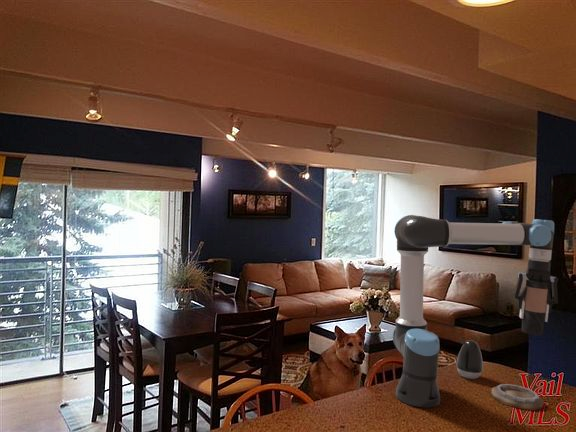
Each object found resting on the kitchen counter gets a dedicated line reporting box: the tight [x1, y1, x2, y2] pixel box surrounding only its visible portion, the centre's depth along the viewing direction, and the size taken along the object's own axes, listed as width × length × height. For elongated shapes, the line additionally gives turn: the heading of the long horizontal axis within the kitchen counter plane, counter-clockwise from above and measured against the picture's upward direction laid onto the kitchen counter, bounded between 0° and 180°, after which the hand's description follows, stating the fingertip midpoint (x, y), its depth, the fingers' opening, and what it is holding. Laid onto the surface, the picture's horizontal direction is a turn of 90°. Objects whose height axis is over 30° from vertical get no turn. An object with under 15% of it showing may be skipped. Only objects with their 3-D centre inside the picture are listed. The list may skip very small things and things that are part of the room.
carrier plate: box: [490, 383, 544, 411], centre depth 169 cm, size 17×17×3 cm
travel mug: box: [521, 278, 549, 336], centre depth 175 cm, size 8×8×20 cm
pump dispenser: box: [455, 338, 484, 380], centre depth 189 cm, size 10×10×15 cm
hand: (533, 319), depth 176 cm, fingers closed on travel mug, 8 cm apart
